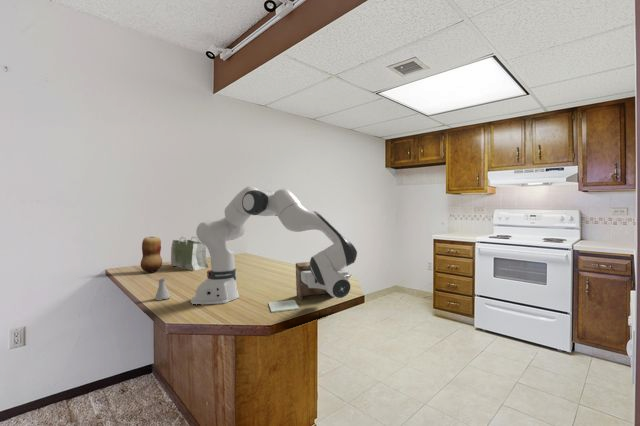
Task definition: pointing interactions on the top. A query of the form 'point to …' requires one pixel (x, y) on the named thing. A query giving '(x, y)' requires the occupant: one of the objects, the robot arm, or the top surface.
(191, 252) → the grocery bag
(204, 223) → the robot arm
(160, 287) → the flask
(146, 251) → the butternut squash
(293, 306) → the plate
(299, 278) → the shelf cubby
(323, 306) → the top surface
